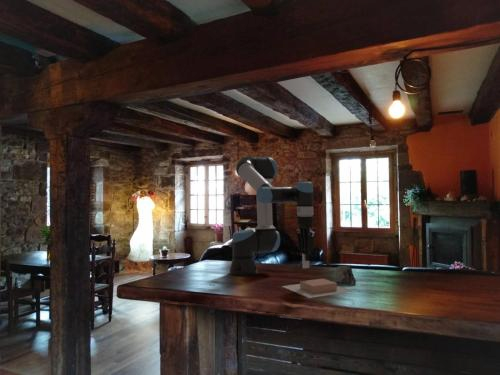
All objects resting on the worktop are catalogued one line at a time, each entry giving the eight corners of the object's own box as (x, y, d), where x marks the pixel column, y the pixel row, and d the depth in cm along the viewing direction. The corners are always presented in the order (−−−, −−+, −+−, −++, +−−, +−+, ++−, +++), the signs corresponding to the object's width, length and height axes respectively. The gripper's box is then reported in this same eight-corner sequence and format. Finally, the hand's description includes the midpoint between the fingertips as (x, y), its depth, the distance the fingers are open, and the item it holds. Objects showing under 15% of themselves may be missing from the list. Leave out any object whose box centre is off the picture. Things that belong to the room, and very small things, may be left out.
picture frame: (300, 281, 159) (313, 286, 150) (322, 278, 165) (336, 283, 155) (300, 288, 159) (313, 293, 150) (322, 285, 164) (337, 290, 155)
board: (281, 288, 164) (281, 286, 164) (322, 283, 173) (321, 281, 173) (309, 300, 144) (309, 297, 144) (353, 294, 153) (353, 291, 153)
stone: (356, 263, 170) (334, 261, 173) (355, 280, 162) (332, 278, 166) (356, 276, 176) (335, 274, 179) (356, 293, 168) (333, 291, 171)
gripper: (290, 215, 171) (291, 266, 170) (306, 216, 159) (307, 271, 159) (304, 214, 174) (304, 264, 174) (320, 216, 162) (321, 269, 162)
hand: (305, 267), depth 166 cm, fingers closed
